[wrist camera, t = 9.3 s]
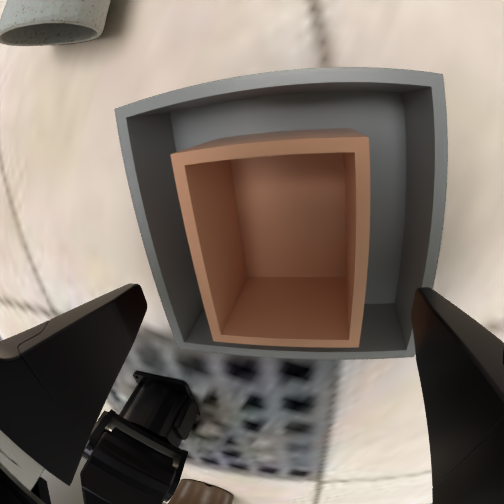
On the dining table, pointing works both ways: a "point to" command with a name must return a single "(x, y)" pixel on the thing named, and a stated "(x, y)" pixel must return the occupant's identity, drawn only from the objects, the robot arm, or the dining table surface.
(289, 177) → the small crate
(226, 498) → the plant pot
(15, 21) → the ceramic mug
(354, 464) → the dining table surface
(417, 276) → the big crate
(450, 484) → the robot arm
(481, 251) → the dining table surface
